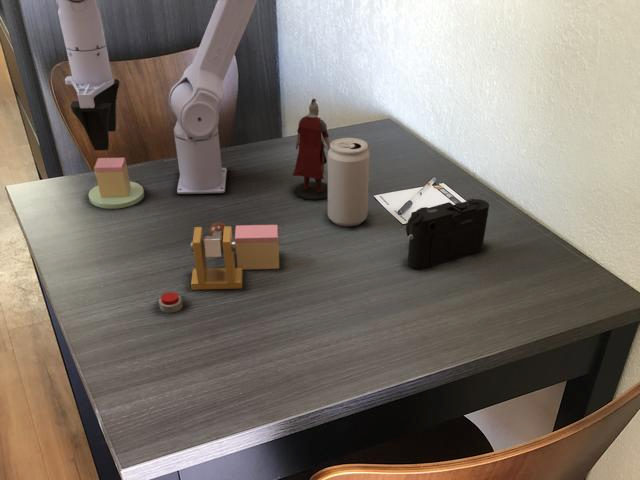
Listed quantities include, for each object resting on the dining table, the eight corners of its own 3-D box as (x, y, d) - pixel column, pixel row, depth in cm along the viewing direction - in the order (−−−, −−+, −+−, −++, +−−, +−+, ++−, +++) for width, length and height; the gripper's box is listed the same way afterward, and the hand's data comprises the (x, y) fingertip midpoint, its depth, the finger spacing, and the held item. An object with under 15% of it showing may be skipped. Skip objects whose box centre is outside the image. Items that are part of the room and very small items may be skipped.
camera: (462, 230, 115) (469, 181, 110) (490, 250, 111) (499, 199, 105) (386, 252, 110) (389, 201, 104) (413, 273, 106) (418, 222, 100)
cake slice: (104, 187, 123) (97, 157, 120) (130, 186, 123) (125, 157, 120) (100, 197, 120) (94, 167, 117) (127, 196, 121) (121, 167, 117)
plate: (94, 185, 125) (93, 180, 125) (147, 184, 126) (146, 179, 125) (85, 209, 119) (83, 204, 118) (141, 208, 119) (140, 203, 119)
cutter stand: (193, 274, 105) (187, 227, 100) (242, 272, 105) (238, 225, 100) (191, 290, 102) (184, 242, 97) (242, 289, 102) (237, 241, 97)
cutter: (210, 241, 111) (208, 220, 110) (230, 240, 111) (228, 220, 110) (202, 259, 99) (200, 237, 98) (224, 259, 99) (223, 236, 98)
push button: (167, 315, 97) (166, 305, 96) (155, 305, 99) (153, 296, 98) (186, 306, 99) (185, 297, 98) (174, 297, 100) (172, 288, 99)
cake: (238, 256, 109) (235, 225, 105) (278, 255, 109) (277, 224, 105) (238, 269, 106) (235, 238, 102) (279, 268, 106) (277, 237, 103)
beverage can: (363, 230, 115) (366, 154, 106) (323, 226, 116) (323, 150, 107) (370, 212, 119) (373, 138, 111) (331, 208, 120) (332, 134, 112)
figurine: (339, 187, 126) (340, 95, 116) (323, 204, 121) (323, 110, 111) (303, 180, 128) (302, 89, 117) (286, 197, 123) (283, 104, 112)
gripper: (67, 31, 111) (87, 123, 121) (47, 61, 101) (71, 158, 110) (114, 31, 112) (130, 122, 121) (99, 60, 101) (118, 158, 111)
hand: (105, 139), depth 116 cm, fingers open, 7 cm apart
